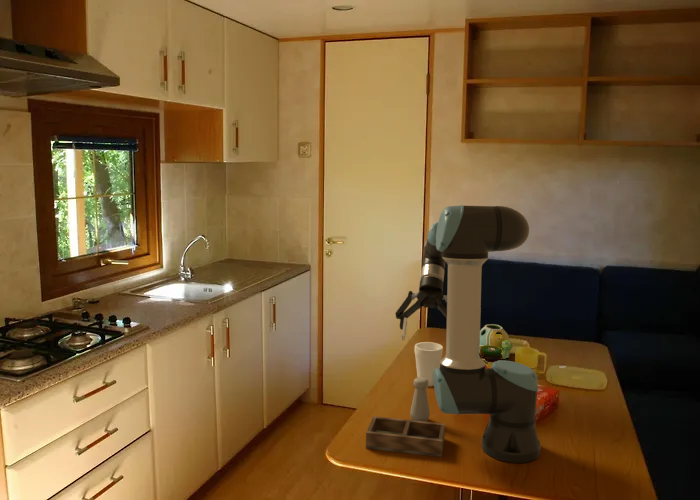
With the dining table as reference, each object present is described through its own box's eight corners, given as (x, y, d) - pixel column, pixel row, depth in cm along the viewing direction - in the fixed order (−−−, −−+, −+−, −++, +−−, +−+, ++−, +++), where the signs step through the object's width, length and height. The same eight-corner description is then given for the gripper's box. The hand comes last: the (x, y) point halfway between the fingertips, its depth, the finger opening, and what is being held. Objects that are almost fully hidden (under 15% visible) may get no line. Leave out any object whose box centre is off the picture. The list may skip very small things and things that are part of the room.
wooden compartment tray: (444, 438, 170) (445, 423, 169) (441, 457, 159) (442, 441, 159) (373, 430, 174) (373, 416, 173) (365, 448, 164) (366, 432, 163)
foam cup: (440, 378, 214) (442, 342, 212) (442, 388, 205) (443, 351, 203) (413, 377, 215) (414, 341, 213) (413, 387, 206) (414, 350, 204)
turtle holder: (493, 368, 225) (495, 336, 223) (469, 352, 242) (470, 323, 240) (522, 364, 229) (524, 333, 227) (497, 349, 246) (498, 320, 244)
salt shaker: (428, 426, 177) (430, 383, 175) (408, 424, 178) (410, 381, 176) (430, 417, 183) (431, 376, 181) (411, 415, 184) (412, 374, 182)
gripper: (470, 290, 200) (466, 349, 188) (394, 285, 205) (386, 342, 194) (470, 277, 194) (467, 337, 182) (392, 272, 199) (383, 331, 188)
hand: (425, 340), depth 188 cm, fingers open, 13 cm apart
